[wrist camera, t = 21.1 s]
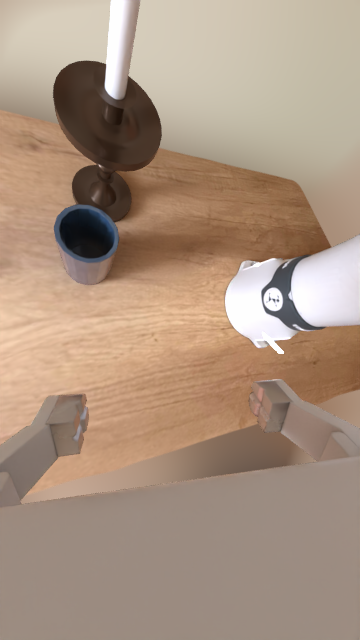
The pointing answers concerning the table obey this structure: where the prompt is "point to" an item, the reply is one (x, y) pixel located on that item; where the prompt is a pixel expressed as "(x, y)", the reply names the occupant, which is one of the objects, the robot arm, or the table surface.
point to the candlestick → (108, 117)
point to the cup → (86, 242)
